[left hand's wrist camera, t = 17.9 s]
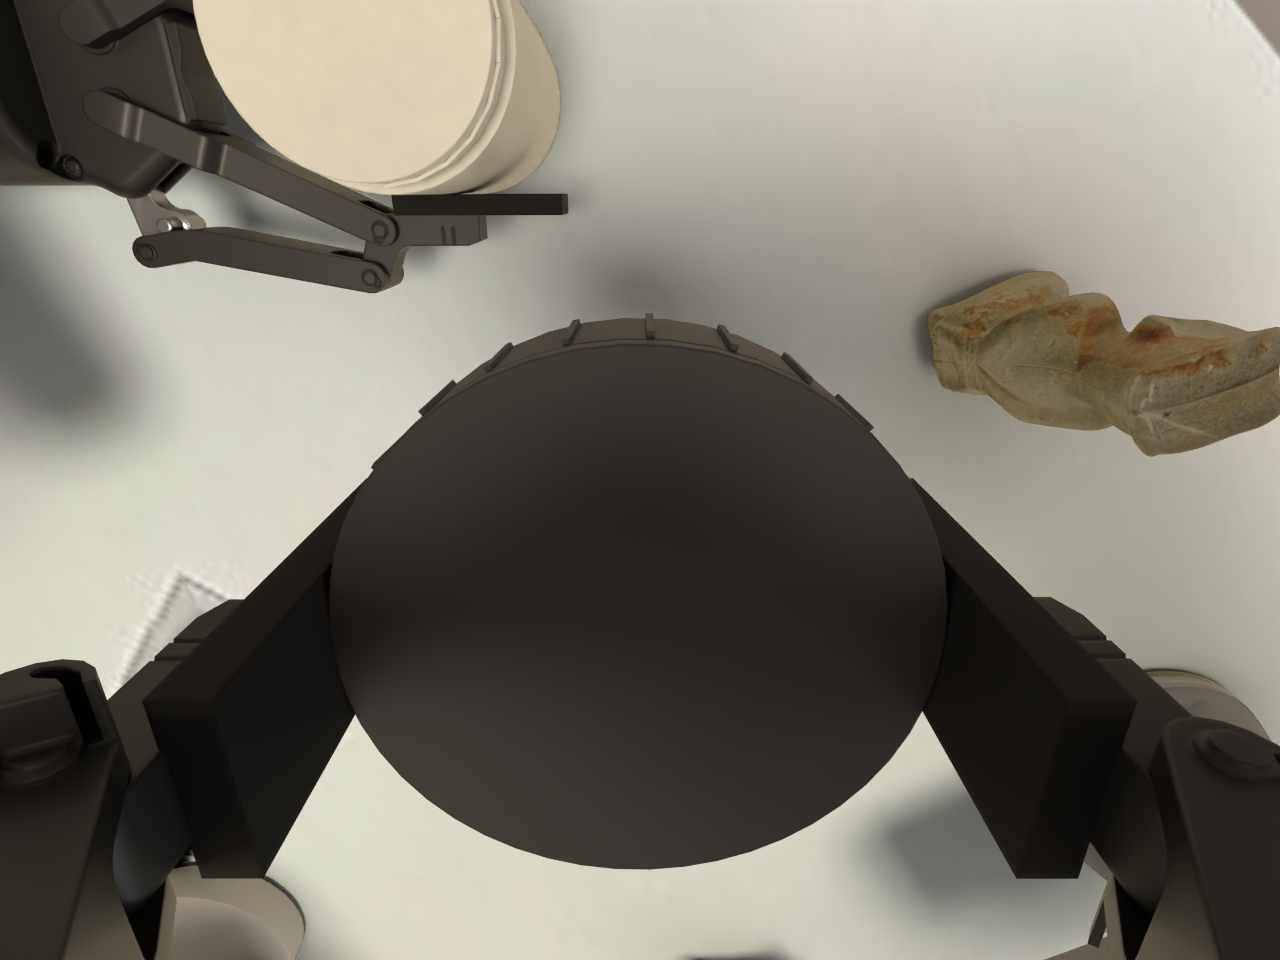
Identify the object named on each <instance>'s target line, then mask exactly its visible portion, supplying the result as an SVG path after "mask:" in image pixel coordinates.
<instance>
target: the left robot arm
mask: <svg viewBox="0 0 1280 960" xmlns="http://www.w3.org/2000/svg"><path fill="white" fill-rule="evenodd" d="M910 479H911V480H912V481H913V483H914V485H915V487H914V488H915V490H916V492H917V493H918V495H919V496H920V498H921V500H922V502H923V505H924V507H925V509H926V512H927V514H928V516H929V519H930V521H931V523H932V526H933V528H934V530H935V532H936V536H937V540H938V544H939V548H940V552H941V556H942V560H943V564H944V568H945V577H946V588H947V599H948V611H947V625H946V640H945V644H944V649H943V653H942V657H941V662H940V666H939V671H938V674H937V677H936V679H935V682H934V685H933V687H932V690H931V692H930V695H929V698H928V700H927V703H926V705H925V707H924V709H923V710H922V711H923V713H924V715H925V716H926V718H927V720H928V722H929V724H930V725H931V727H932V729H933V731H934V732H935V734H936V736H937V738H938V740H939V741H940V743H941V745H942V747H943V748H944V750H945V752H946V754H947V756H948V757H949V759H950V761H951V763H952V764H953V766H954V768H955V770H956V772H957V773H958V775H959V777H960V779H961V780H962V782H963V784H964V786H965V788H966V789H967V791H968V793H969V795H970V796H971V798H972V800H973V802H974V804H975V805H976V807H977V809H978V811H979V813H980V814H981V816H982V818H983V820H984V821H985V823H986V825H987V827H988V829H989V830H990V832H991V834H992V836H993V837H994V839H995V841H996V843H997V845H998V846H999V848H1000V850H1001V852H1002V853H1003V855H1004V857H1005V859H1006V861H1007V862H1008V864H1009V866H1010V868H1011V869H1012V871H1013V873H1014V875H1015V877H1016V878H1017V879H1078V876H1079V873H1080V870H1081V867H1082V864H1083V862H1085V863H1086V864H1088V865H1089V866H1090V867H1091V868H1092V869H1094V870H1095V871H1096V872H1097V873H1098V874H1099V875H1101V876H1102V877H1103V878H1104V879H1105V880H1107V881H1108V882H1107V885H1106V888H1105V890H1104V893H1103V896H1102V899H1101V901H1100V904H1099V907H1098V910H1097V913H1096V915H1095V918H1094V921H1093V924H1092V926H1091V929H1090V935H1089V940H1088V944H1087V945H1084V946H1081V947H1079V948H1076V949H1073V950H1071V951H1068V952H1065V953H1062V954H1059V955H1056V956H1054V957H1051V958H1048V959H1045V960H1280V746H1278V745H1277V744H1275V743H1273V742H1272V741H1271V740H1270V738H1269V736H1268V735H1267V733H1266V732H1265V730H1264V728H1263V727H1262V725H1261V724H1260V722H1259V721H1258V720H1257V719H1256V717H1255V716H1254V714H1253V713H1252V712H1251V711H1250V710H1249V709H1248V708H1247V707H1246V706H1245V705H1244V704H1243V703H1241V702H1240V701H1239V700H1238V699H1237V698H1235V697H1234V696H1233V695H1232V694H1231V693H1229V692H1228V691H1227V690H1226V689H1225V688H1223V687H1222V686H1221V685H1219V684H1217V683H1216V682H1214V681H1212V680H1210V679H1207V678H1205V677H1202V676H1199V675H1196V674H1191V673H1187V672H1179V671H1151V672H1145V671H1143V670H1142V669H1141V668H1140V667H1139V666H1138V665H1137V664H1136V663H1135V662H1134V661H1133V660H1131V659H1126V656H1125V655H1126V654H1125V653H1124V652H1123V651H1122V650H1121V649H1119V648H1118V647H1117V646H1116V645H1115V644H1114V643H1113V642H1112V641H1107V640H1106V636H1105V635H1104V634H1103V633H1102V632H1101V631H1100V630H1099V629H1098V628H1097V627H1095V626H1094V625H1093V624H1092V623H1091V622H1090V621H1089V620H1088V619H1087V618H1086V617H1085V616H1083V615H1082V614H1080V613H1078V612H1076V611H1075V610H1073V609H1071V608H1069V607H1067V606H1066V605H1064V604H1062V603H1060V602H1058V601H1057V600H1055V599H1053V598H1051V597H1032V596H1031V595H1030V594H1029V593H1028V592H1027V591H1026V590H1025V589H1024V588H1023V587H1022V586H1021V585H1020V584H1019V583H1018V582H1017V581H1016V580H1015V579H1014V578H1013V577H1012V576H1011V575H1010V574H1009V573H1008V572H1007V571H1006V570H1005V569H1004V568H1003V567H1002V566H1001V565H1000V564H999V563H998V562H997V561H996V560H995V559H994V558H993V557H992V556H991V555H990V554H989V553H988V552H987V551H986V550H985V549H984V548H983V547H982V546H981V545H980V544H979V543H978V542H977V541H976V540H975V539H974V538H973V537H972V536H971V535H970V534H969V533H968V532H967V531H966V530H965V529H964V528H963V527H962V526H961V525H959V524H958V523H957V522H956V521H955V520H954V519H953V518H952V517H951V516H950V515H949V514H948V513H947V512H946V511H945V510H944V509H943V508H942V507H941V506H940V505H939V504H938V503H937V502H936V501H935V500H934V499H933V498H932V497H931V496H930V495H929V494H928V493H927V492H926V491H925V490H924V489H923V488H922V487H921V486H920V485H919V484H918V483H917V482H916V481H915V480H914V479H913V478H910ZM366 480H367V479H366ZM366 480H365V481H366ZM365 481H364V482H363V483H361V484H360V485H359V486H358V487H357V488H356V489H355V490H354V491H353V492H352V493H351V494H350V495H349V496H348V497H347V498H346V499H345V500H344V501H343V502H342V503H341V504H340V505H339V506H338V507H337V508H336V509H335V510H334V511H333V512H332V513H331V514H330V515H329V516H328V517H327V518H326V519H325V520H324V521H323V522H322V523H321V524H320V525H319V526H318V527H317V528H316V529H315V530H314V531H313V532H312V533H311V534H310V535H309V536H308V537H307V538H306V539H305V540H304V541H303V542H302V543H301V544H300V545H299V546H298V547H297V548H296V549H295V550H294V551H293V552H292V553H291V554H290V555H289V556H288V557H287V558H286V559H285V560H284V561H283V562H282V563H281V564H280V565H279V566H278V567H277V568H276V569H275V570H274V571H273V572H271V573H270V574H269V575H268V576H267V577H266V578H265V579H264V580H263V581H262V582H261V583H260V584H259V585H258V586H257V587H256V588H255V589H254V590H253V591H252V592H251V593H250V594H249V595H248V596H247V597H246V598H245V599H244V600H228V601H226V602H224V603H222V604H221V605H219V606H217V607H215V608H213V609H212V610H210V611H208V612H206V613H204V614H203V615H201V616H199V617H197V618H196V619H195V620H194V621H193V622H192V623H191V624H189V625H188V626H187V627H186V628H185V629H184V630H183V631H182V632H181V633H180V634H179V635H178V636H176V637H175V638H174V643H169V644H168V645H167V646H166V647H165V648H164V649H162V650H161V651H160V652H159V653H158V654H157V655H156V656H155V660H154V661H149V662H148V663H147V664H146V665H145V666H144V667H143V668H142V669H141V670H140V671H139V672H138V673H136V674H135V675H134V676H133V677H132V678H131V679H130V680H129V681H128V682H127V683H126V684H125V685H123V686H122V687H121V688H120V689H119V690H118V691H117V692H116V693H115V694H114V695H113V696H112V697H110V698H109V699H108V700H107V699H106V696H105V694H104V691H103V688H102V685H101V682H100V680H99V677H98V674H97V671H96V669H95V667H93V666H91V665H90V664H88V663H86V662H84V661H79V660H65V659H62V660H55V661H48V662H41V663H35V664H32V665H28V666H25V667H22V668H19V669H15V670H12V671H9V672H5V673H3V674H1V675H0V960H170V956H171V947H172V938H173V929H174V921H175V912H176V903H177V900H176V894H175V889H174V885H173V882H172V879H171V877H170V873H171V871H172V870H173V868H174V867H175V865H176V864H177V863H178V861H179V860H180V858H181V857H182V856H183V854H184V853H185V851H186V850H187V848H188V847H189V846H190V845H191V848H192V851H193V854H194V857H195V860H196V863H197V866H198V869H199V872H200V875H201V878H202V879H263V878H264V876H265V874H266V872H267V870H268V869H269V867H270V865H271V863H272V862H273V860H274V858H275V856H276V854H277V853H278V851H279V849H280V847H281V846H282V844H283V842H284V840H285V838H286V837H287V835H288V833H289V831H290V830H291V828H292V826H293V824H294V822H295V821H296V819H297V817H298V815H299V814H300V812H301V810H302V808H303V806H304V805H305V803H306V801H307V799H308V797H309V796H310V794H311V792H312V790H313V789H314V787H315V785H316V783H317V781H318V780H319V778H320V776H321V774H322V773H323V771H324V769H325V767H326V765H327V764H328V762H329V760H330V758H331V757H332V755H333V753H334V751H335V749H336V748H337V746H338V744H339V742H340V741H341V739H342V737H343V735H344V733H345V732H346V730H347V728H348V726H349V725H350V723H351V721H352V719H353V717H354V716H355V712H354V710H353V708H352V706H351V704H350V702H349V700H348V698H347V696H346V694H345V691H344V688H343V685H342V682H341V677H340V673H339V669H338V664H337V659H336V654H335V649H334V644H333V639H332V634H331V629H330V622H329V602H328V591H329V584H330V577H331V570H332V563H333V556H334V553H335V550H336V547H337V543H338V540H339V537H340V534H341V530H342V527H343V524H344V521H345V519H346V517H347V515H348V513H349V511H350V509H351V507H352V505H353V503H354V501H355V499H356V497H357V495H358V493H359V491H360V489H361V487H362V485H363V484H364V483H365ZM1106 931H1107V935H1108V937H1105V938H1103V939H1102V937H1103V934H1104V932H1106Z"/></svg>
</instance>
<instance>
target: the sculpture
mask: <svg viewBox="0 0 1280 960" xmlns="http://www.w3.org/2000/svg"><path fill="white" fill-rule="evenodd" d="M928 330H929V336H930V338H931V339H932V346H933V362H934V366H935V369H936V373H937V375H938V378H939V381H940V383H941V385H942V386H943V387H944V388H947V389H951V390H952V391H956V392H963V393H970V394H983V395H989V396H990V397H991V398H993V399H994V400H995V401H996V402H997V403H998V404H999V405H1000V406H1002V407H1003V408H1004V409H1005V410H1006V411H1007V412H1009V413H1010V414H1011V415H1012V416H1014V417H1015V418H1017V419H1018V420H1021V421H1024V422H1028V423H1033V424H1039V425H1046V426H1053V427H1060V428H1068V429H1077V430H1100V429H1104V428H1107V427H1110V426H1112V425H1114V426H1115V427H1117V428H1118V429H1119V430H1121V431H1123V432H1125V433H1126V434H1128V435H1130V436H1132V437H1133V440H1134V442H1135V444H1136V445H1137V446H1138V448H1139V449H1140V450H1141V451H1142V452H1143V453H1144V454H1145V455H1147V456H1151V457H1153V456H1156V455H1160V454H1174V453H1181V452H1185V451H1189V450H1194V449H1197V448H1201V447H1204V446H1207V445H1209V444H1212V443H1215V442H1217V441H1220V440H1223V439H1225V438H1228V437H1230V436H1234V435H1237V434H1240V433H1243V432H1246V431H1249V430H1252V429H1256V428H1259V427H1261V426H1263V425H1265V424H1267V423H1268V422H1270V421H1272V420H1273V419H1275V418H1276V417H1278V416H1279V415H1280V377H1279V367H1280V327H1274V328H1269V329H1264V330H1260V331H1252V332H1248V331H1244V330H1242V329H1239V328H1236V327H1232V326H1229V325H1225V324H1220V323H1216V322H1212V321H1207V320H1186V319H1177V318H1169V317H1163V316H1157V315H1150V316H1147V317H1145V318H1144V319H1143V320H1142V321H1141V322H1140V323H1139V324H1138V325H1137V326H1136V327H1135V328H1134V329H1133V331H1132V332H1127V331H1126V330H1125V328H1124V326H1123V324H1122V321H1121V317H1120V314H1119V311H1118V309H1117V308H1116V306H1115V304H1114V302H1113V301H1112V300H1111V299H1110V298H1109V297H1107V296H1106V295H1103V294H1101V293H1083V294H1078V295H1074V296H1069V289H1068V285H1067V284H1066V282H1065V281H1064V280H1063V279H1062V278H1061V277H1060V276H1058V275H1057V274H1055V273H1053V272H1048V271H1037V272H1029V273H1024V274H1021V275H1018V276H1015V277H1012V278H1010V279H1007V280H1005V281H1002V282H1000V283H998V284H996V285H994V286H991V287H989V288H987V289H985V290H983V291H981V292H979V293H977V294H976V295H973V296H971V297H969V298H967V299H965V300H963V301H960V302H958V303H955V304H952V305H949V306H943V307H940V308H937V309H936V310H934V311H933V312H931V313H930V314H929V317H928Z"/></svg>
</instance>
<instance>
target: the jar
mask: <svg viewBox="0 0 1280 960" xmlns="http://www.w3.org/2000/svg"><path fill="white" fill-rule="evenodd" d="M193 8H194V14H195V18H196V23H197V28H198V32H199V36H200V39H201V42H202V45H203V48H204V51H205V54H206V56H207V59H208V61H209V63H210V65H211V68H212V70H213V72H214V74H215V77H216V78H217V80H218V82H219V84H220V85H221V87H222V89H223V91H224V92H225V94H226V96H227V97H228V99H229V100H230V102H231V103H232V104H233V106H234V107H235V109H236V110H237V111H238V113H239V114H240V115H241V116H242V118H243V119H244V120H245V121H246V122H247V123H248V124H249V126H250V127H251V128H252V129H253V130H254V131H255V132H256V133H257V134H258V135H259V136H260V137H261V138H262V139H264V140H265V141H266V142H267V143H268V144H269V145H270V146H271V147H273V148H274V149H276V150H277V151H278V152H280V153H281V154H282V155H284V156H285V157H286V158H288V159H290V160H292V161H293V162H295V163H297V164H299V165H300V166H302V167H304V168H306V169H308V170H311V171H313V172H315V173H318V174H320V175H323V176H324V177H326V178H328V179H330V180H332V181H334V182H336V183H339V184H341V185H344V186H346V187H349V188H352V189H356V190H359V191H363V192H367V193H374V194H381V195H428V194H488V193H495V192H499V191H502V190H506V189H508V188H510V187H513V186H515V185H517V184H518V183H520V182H521V181H523V180H525V179H526V178H527V177H528V176H529V175H531V174H532V173H533V172H534V171H535V170H536V169H537V167H538V166H539V165H540V164H541V163H542V161H543V160H544V158H545V157H546V155H547V154H548V152H549V150H550V148H551V146H552V143H553V141H554V138H555V135H556V132H557V128H558V123H559V118H560V89H559V82H558V77H557V74H556V70H555V66H554V64H553V61H552V59H551V56H550V53H549V52H548V50H547V48H546V46H545V44H544V42H543V40H542V39H541V37H540V35H539V33H538V32H537V30H536V28H535V27H534V25H533V23H532V21H531V20H530V18H529V16H528V14H527V13H526V11H525V9H524V7H523V6H522V4H521V2H520V1H519V0H193Z"/></svg>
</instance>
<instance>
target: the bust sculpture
mask: <svg viewBox="0 0 1280 960" xmlns="http://www.w3.org/2000/svg"><path fill="white" fill-rule="evenodd" d="M170 877H171V879H172V882H173V885H174V889H175V894H176V900H177V903H176V912H175V921H174V929H173V938H172V947H171V956H170V960H294V959H295V957H296V955H297V953H298V950H299V948H300V946H301V943H302V941H303V937H304V924H303V920H302V917H301V915H300V913H299V911H298V909H297V908H296V906H295V905H294V903H293V902H292V901H291V900H290V899H289V898H288V897H287V896H286V895H285V894H284V893H283V892H282V891H280V890H279V889H278V888H276V887H275V886H273V885H272V884H270V883H269V882H267V881H265V880H263V879H202V878H201V875H200V872H199V869H198V866H197V865H194V866H185V867H180V868H176V869H173V870H172V871H171V873H170Z"/></svg>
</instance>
